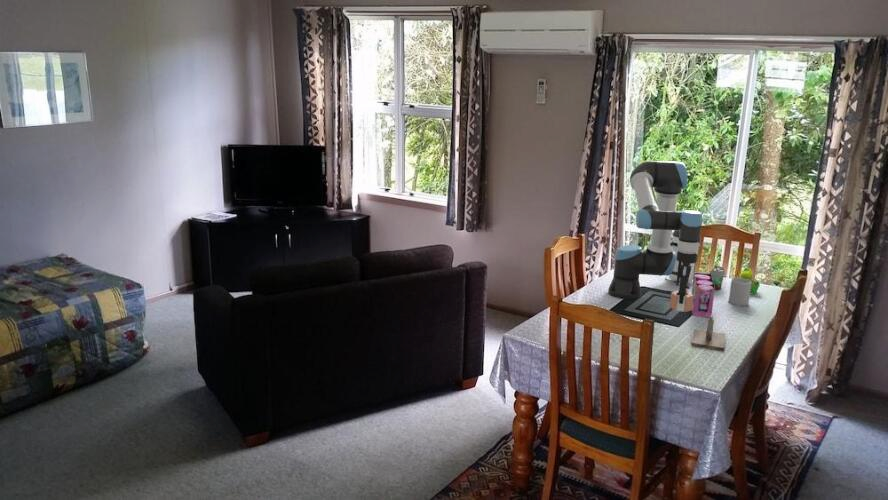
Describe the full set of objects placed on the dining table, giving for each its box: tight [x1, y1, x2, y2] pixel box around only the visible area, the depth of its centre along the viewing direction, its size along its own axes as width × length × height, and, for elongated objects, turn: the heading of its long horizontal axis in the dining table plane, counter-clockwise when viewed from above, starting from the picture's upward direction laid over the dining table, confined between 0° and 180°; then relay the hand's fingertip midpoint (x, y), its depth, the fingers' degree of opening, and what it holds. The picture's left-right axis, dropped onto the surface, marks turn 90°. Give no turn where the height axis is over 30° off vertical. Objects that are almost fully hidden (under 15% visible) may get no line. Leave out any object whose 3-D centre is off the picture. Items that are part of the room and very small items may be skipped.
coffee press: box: [664, 230, 697, 287], centre depth 336 cm, size 17×16×30 cm
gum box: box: [691, 271, 716, 318], centre depth 301 cm, size 24×8×14 cm, turn 163°
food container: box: [709, 265, 726, 291], centre depth 330 cm, size 12×6×10 cm, turn 148°
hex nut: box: [669, 290, 694, 313], centre depth 264 cm, size 7×8×6 cm
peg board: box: [690, 315, 726, 352], centre depth 265 cm, size 12×16×10 cm
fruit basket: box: [740, 267, 761, 295], centre depth 327 cm, size 11×9×11 cm
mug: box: [728, 277, 751, 307], centre depth 311 cm, size 12×8×11 cm
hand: (681, 307), depth 264 cm, fingers closed on hex nut, 7 cm apart
